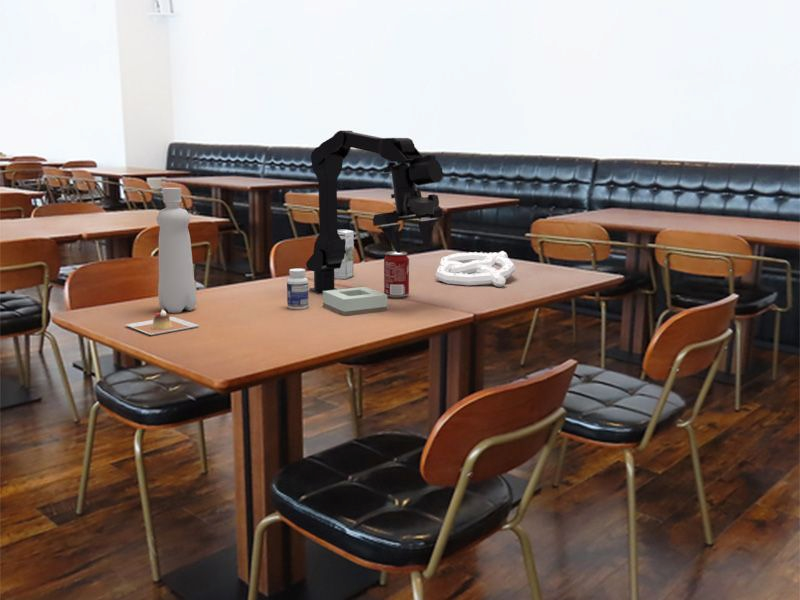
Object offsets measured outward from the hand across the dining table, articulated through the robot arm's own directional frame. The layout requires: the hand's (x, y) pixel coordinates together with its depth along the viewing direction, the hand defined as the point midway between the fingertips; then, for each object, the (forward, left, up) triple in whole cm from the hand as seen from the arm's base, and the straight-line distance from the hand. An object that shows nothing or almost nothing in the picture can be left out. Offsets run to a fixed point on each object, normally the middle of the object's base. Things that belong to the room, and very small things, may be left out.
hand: (413, 250), depth 194 cm
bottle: (-26, -53, -15) cm, 60 cm away
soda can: (-14, +3, -15) cm, 20 cm away
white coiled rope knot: (-24, +38, -15) cm, 48 cm away
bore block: (-6, -14, -15) cm, 21 cm away
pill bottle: (-14, -26, -15) cm, 33 cm away
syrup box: (-47, +3, -15) cm, 49 cm away
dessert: (-10, -61, -15) cm, 63 cm away
